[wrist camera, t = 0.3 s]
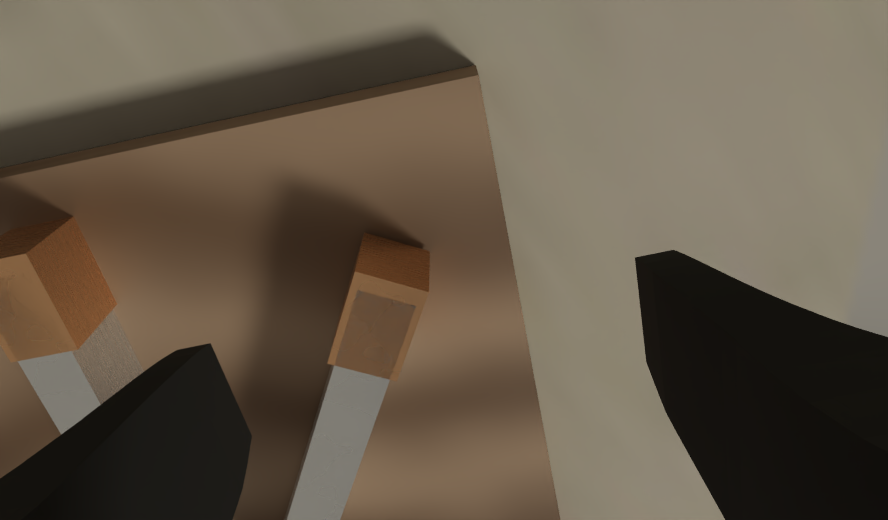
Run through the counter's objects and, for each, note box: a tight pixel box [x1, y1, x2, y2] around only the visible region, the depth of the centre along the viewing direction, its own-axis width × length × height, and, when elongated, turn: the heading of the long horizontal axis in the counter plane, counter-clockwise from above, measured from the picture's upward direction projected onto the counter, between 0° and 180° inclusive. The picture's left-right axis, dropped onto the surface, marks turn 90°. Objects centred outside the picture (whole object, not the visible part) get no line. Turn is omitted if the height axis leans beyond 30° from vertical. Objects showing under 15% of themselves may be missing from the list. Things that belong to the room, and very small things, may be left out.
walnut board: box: [0, 65, 560, 520], centre depth 23 cm, size 19×24×2 cm
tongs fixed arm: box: [0, 216, 144, 434], centre depth 21 cm, size 17×4×4 cm, turn 12°
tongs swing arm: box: [284, 232, 430, 520], centre depth 21 cm, size 13×2×2 cm, turn 162°
